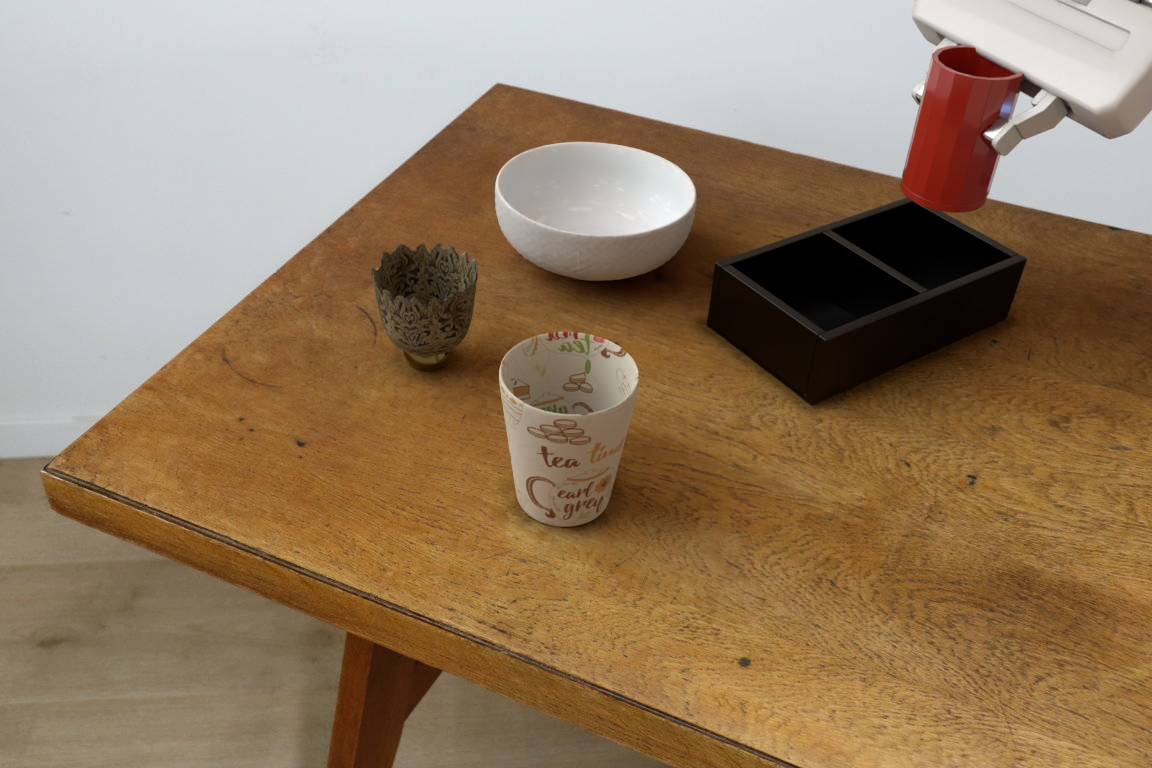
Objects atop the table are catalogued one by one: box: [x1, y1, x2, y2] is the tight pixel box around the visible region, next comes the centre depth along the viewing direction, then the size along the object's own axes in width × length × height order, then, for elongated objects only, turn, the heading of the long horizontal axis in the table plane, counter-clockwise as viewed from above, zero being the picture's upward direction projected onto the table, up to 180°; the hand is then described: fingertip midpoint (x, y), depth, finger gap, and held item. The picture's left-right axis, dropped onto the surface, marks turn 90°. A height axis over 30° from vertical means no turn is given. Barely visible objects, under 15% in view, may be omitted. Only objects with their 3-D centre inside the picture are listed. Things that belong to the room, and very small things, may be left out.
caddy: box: [706, 196, 1028, 406], centre depth 87 cm, size 22×12×6 cm, turn 124°
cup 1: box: [370, 242, 479, 371], centre depth 80 cm, size 8×7×8 cm
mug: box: [498, 331, 640, 528], centre depth 70 cm, size 8×13×10 cm, turn 166°
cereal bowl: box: [494, 141, 698, 282], centre depth 93 cm, size 17×17×7 cm
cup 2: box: [900, 45, 1024, 214], centre depth 79 cm, size 6×6×10 cm
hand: (954, 124), depth 79 cm, fingers closed on cup 2, 6 cm apart
